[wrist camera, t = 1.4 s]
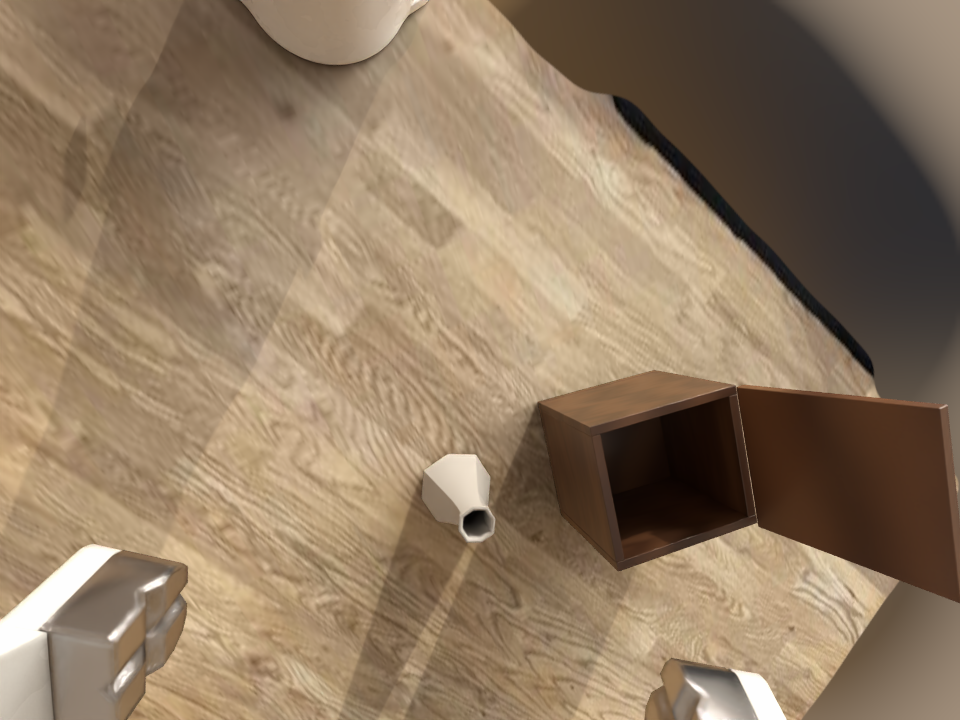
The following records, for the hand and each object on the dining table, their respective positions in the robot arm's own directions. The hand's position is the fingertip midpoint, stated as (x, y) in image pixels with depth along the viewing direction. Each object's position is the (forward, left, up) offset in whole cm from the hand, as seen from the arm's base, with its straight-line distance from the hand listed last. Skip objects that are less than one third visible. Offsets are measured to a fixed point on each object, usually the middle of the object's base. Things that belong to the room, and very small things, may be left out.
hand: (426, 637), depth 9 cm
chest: (+9, +24, -43) cm, 50 cm away
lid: (+8, +32, -23) cm, 40 cm away
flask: (+12, +8, -43) cm, 46 cm away
